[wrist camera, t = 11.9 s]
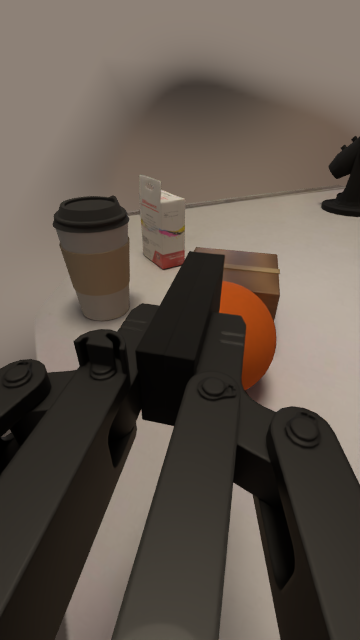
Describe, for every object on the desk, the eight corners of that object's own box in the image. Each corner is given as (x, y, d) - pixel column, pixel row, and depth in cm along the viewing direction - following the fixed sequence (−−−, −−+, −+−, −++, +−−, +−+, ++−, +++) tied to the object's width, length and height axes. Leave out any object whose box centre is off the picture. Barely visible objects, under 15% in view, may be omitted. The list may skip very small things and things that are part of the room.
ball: (130, 389, 25) (149, 263, 26) (177, 381, 36) (189, 291, 37) (263, 417, 21) (279, 268, 22) (273, 399, 32) (284, 297, 33)
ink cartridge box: (186, 264, 56) (187, 178, 48) (162, 270, 54) (159, 181, 46) (164, 249, 62) (161, 171, 54) (142, 254, 60) (136, 173, 52)
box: (176, 339, 38) (176, 281, 33) (193, 296, 46) (195, 246, 42) (267, 353, 35) (281, 293, 31) (267, 305, 44) (278, 253, 40)
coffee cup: (78, 331, 39) (50, 213, 30) (70, 299, 46) (44, 194, 37) (145, 316, 42) (136, 204, 33) (127, 287, 49) (116, 188, 40)
